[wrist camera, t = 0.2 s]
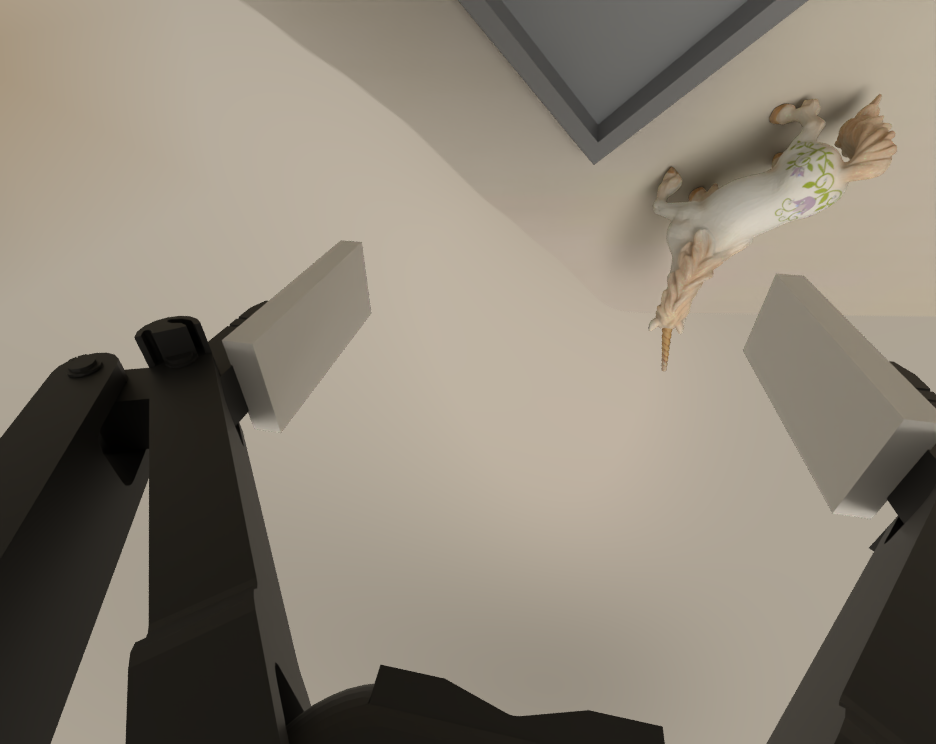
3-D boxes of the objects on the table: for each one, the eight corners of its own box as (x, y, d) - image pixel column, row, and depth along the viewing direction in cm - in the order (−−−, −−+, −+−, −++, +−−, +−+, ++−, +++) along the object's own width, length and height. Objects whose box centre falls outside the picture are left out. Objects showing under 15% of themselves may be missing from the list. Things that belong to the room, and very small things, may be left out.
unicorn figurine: (597, 231, 43) (597, 333, 35) (813, 21, 29) (894, 114, 21) (652, 268, 45) (663, 372, 37) (878, 90, 31) (974, 199, 23)
